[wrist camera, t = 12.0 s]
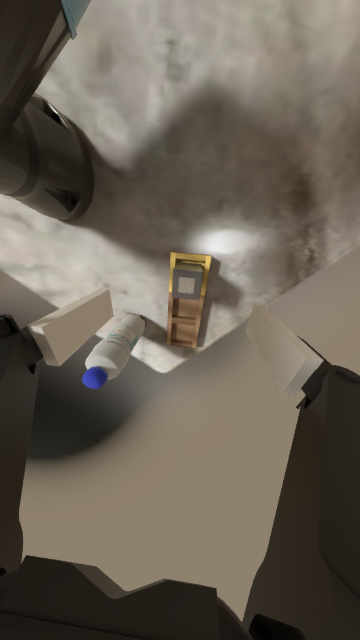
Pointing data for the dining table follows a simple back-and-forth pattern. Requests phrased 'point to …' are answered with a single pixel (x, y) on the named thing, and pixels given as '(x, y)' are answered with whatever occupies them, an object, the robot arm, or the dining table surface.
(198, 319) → the wooden compartment tray
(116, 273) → the dining table surface
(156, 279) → the dining table surface
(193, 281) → the block
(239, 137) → the dining table surface
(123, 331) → the bottle
